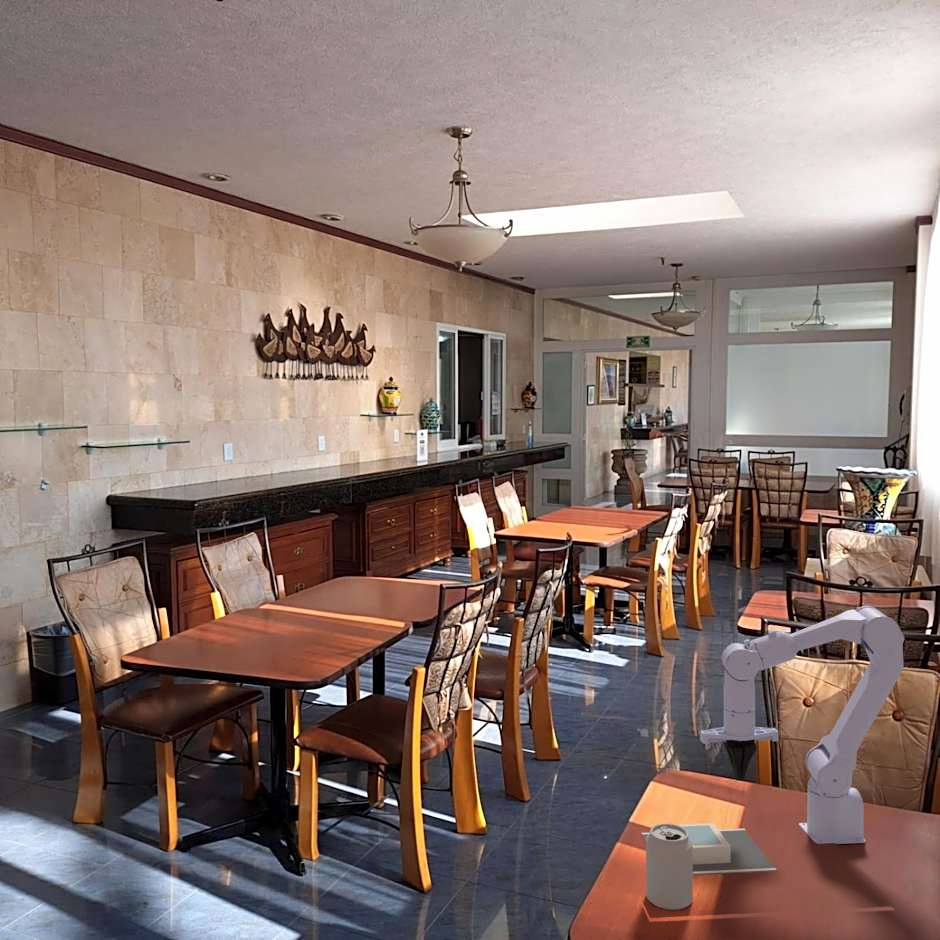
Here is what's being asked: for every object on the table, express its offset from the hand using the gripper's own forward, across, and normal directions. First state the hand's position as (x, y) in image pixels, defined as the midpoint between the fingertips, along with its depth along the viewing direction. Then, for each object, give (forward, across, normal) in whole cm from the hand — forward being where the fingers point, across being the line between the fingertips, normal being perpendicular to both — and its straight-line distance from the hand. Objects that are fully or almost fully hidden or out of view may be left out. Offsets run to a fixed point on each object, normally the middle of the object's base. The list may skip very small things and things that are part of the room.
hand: (738, 778), depth 170 cm
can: (+11, +20, +23) cm, 32 cm away
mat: (+10, +9, +8) cm, 16 cm away
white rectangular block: (+8, +6, +8) cm, 13 cm away
